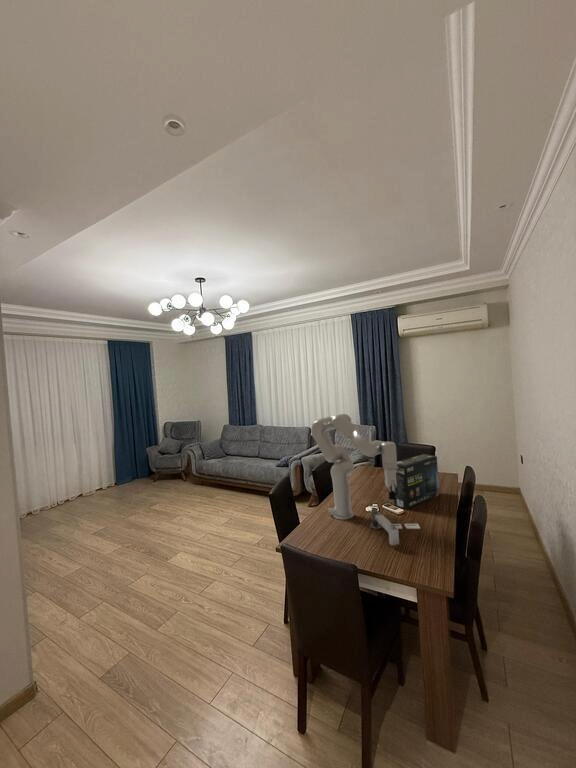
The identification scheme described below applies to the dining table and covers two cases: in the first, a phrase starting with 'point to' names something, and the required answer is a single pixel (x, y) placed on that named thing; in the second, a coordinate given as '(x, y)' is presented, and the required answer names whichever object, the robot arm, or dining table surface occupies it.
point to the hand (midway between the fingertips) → (392, 498)
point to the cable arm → (387, 527)
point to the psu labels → (407, 526)
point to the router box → (416, 481)
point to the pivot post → (374, 521)
